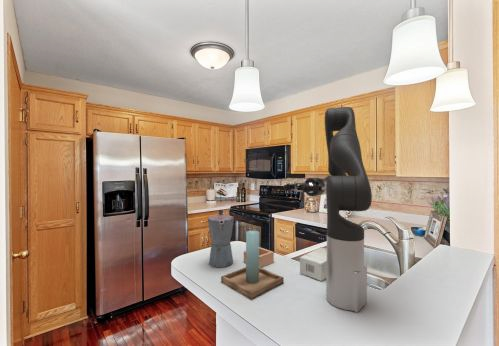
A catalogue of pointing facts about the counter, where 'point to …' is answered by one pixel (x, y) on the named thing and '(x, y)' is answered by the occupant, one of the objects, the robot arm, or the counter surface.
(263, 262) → the square terracotta collar
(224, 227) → the moka pot
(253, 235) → the dowel pin
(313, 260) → the skincare box
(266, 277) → the tray
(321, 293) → the counter surface
